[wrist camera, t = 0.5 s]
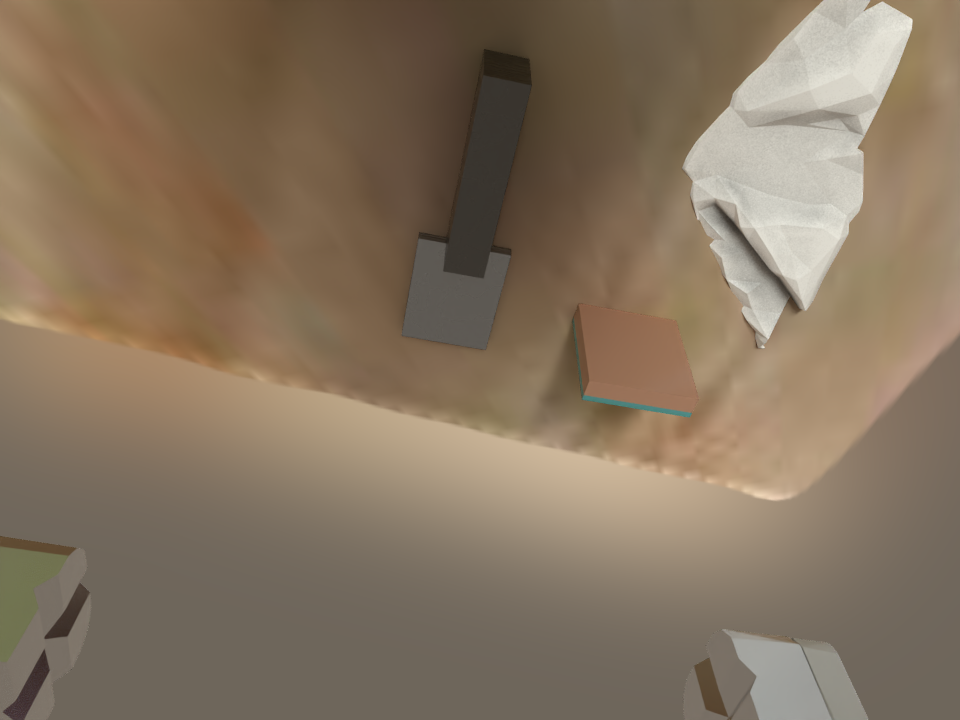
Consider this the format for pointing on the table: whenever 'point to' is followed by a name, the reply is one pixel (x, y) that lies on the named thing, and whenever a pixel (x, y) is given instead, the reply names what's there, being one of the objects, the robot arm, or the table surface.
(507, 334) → the table surface
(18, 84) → the table surface
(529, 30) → the table surface
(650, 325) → the tile
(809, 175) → the cloth
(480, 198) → the turner
